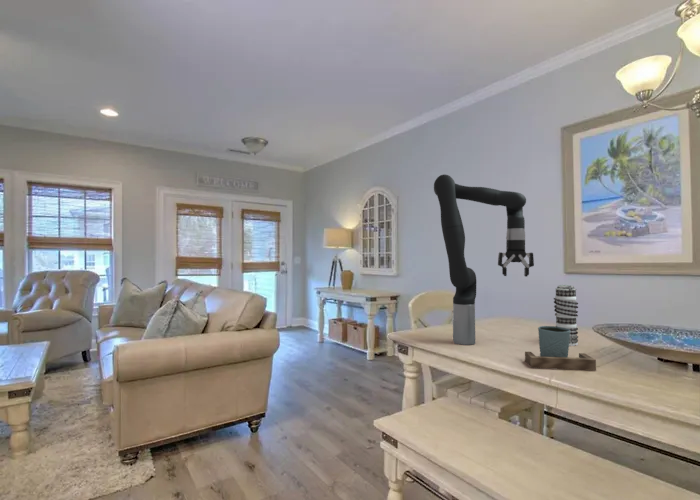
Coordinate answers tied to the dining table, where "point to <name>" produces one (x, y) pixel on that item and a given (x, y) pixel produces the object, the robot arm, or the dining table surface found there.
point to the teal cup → (553, 341)
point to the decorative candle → (567, 311)
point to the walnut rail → (561, 362)
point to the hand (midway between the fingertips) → (515, 276)
